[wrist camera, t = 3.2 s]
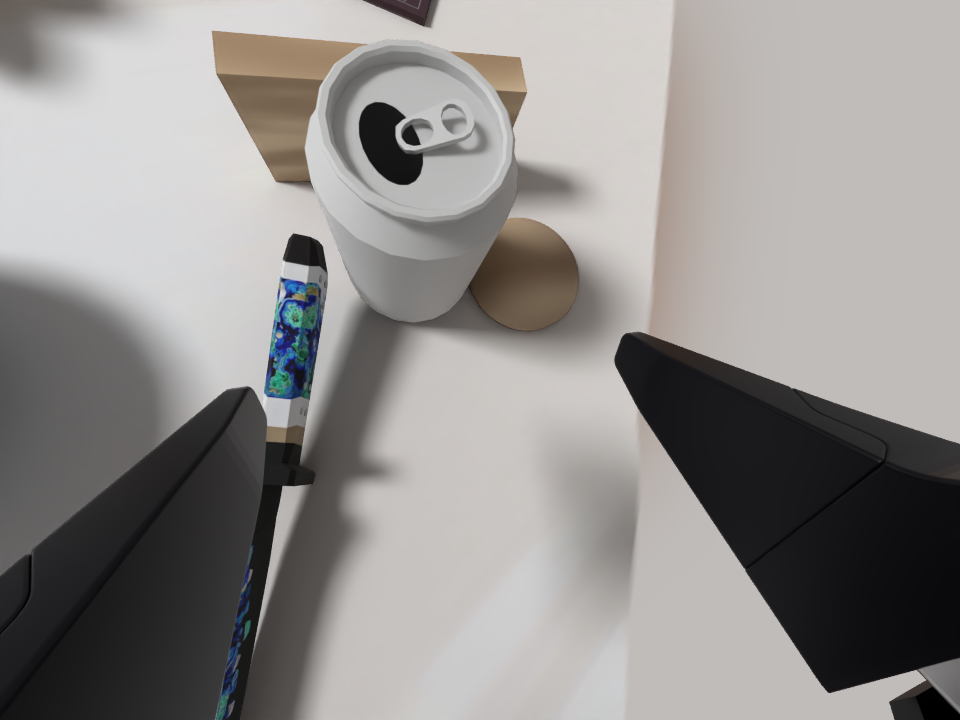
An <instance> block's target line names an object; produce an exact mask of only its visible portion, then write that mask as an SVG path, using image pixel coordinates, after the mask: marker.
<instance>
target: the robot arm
mask: <svg viewBox="0 0 960 720" xmlns="http://www.w3.org/2000/svg"><path fill="white" fill-rule="evenodd" d="M614 361H615V366H616V368H617V370H618V372H619V374H620V376H621V377H622V379H623V381H624V383H625V385H626V387H627V389H628V391H629V393H630V394H631V396H632V398H633V400H634V402H635V404H636V406H637V407H638V409H639V411H640V413H641V414H642V416H643V417H644V419H645V420H646V422H647V423H648V425H649V426H650V428H651V429H652V431H653V432H654V434H655V435H656V437H657V438H658V440H659V441H660V443H661V444H662V446H663V447H664V449H665V450H666V452H667V453H668V455H669V456H670V458H671V459H672V461H673V462H674V464H675V465H676V467H677V468H678V470H679V471H680V473H681V474H682V476H683V477H684V479H685V480H686V482H687V483H688V485H689V486H690V488H691V489H692V491H693V492H694V494H695V495H696V497H697V498H698V500H699V501H700V503H701V504H702V506H703V507H704V509H705V510H706V512H707V513H708V515H709V516H710V518H711V520H712V521H713V523H714V524H715V525H716V527H717V528H718V530H719V532H720V533H721V535H722V536H723V538H724V539H725V541H726V542H727V544H728V545H729V546H730V548H731V550H732V551H733V553H734V554H735V556H736V557H737V559H738V560H739V561H740V563H741V564H742V566H743V567H744V568H745V571H746V573H747V574H748V576H749V577H750V579H751V580H752V582H753V583H754V585H755V586H756V588H757V589H758V591H759V592H760V594H761V595H762V597H763V598H764V600H765V601H766V602H767V604H768V606H769V607H770V609H771V610H772V612H773V613H774V615H775V616H776V618H777V619H778V621H779V622H780V624H781V625H782V627H783V628H784V630H785V631H786V633H787V634H788V636H789V637H790V639H791V640H792V642H793V643H794V645H795V646H796V648H797V649H798V651H799V652H800V654H801V655H802V657H803V658H804V660H805V661H806V663H807V664H808V666H809V667H810V669H811V670H812V672H813V673H814V675H815V676H816V678H817V679H818V681H819V682H820V683H821V685H822V686H823V687H824V688H825V690H826V691H827V692H828V693H832V692H836V691H840V690H843V689H847V688H851V687H854V686H858V685H861V684H866V683H869V682H873V681H876V680H880V679H884V678H888V677H891V676H895V675H899V674H903V673H906V672H910V671H914V670H917V671H918V672H919V673H920V674H921V675H922V676H923V677H924V678H925V679H926V681H924V682H923V683H921V684H919V685H917V686H916V687H914V688H912V689H910V690H909V691H907V692H905V693H904V694H902V695H900V696H899V697H897V698H895V699H893V700H892V701H890V702H889V703H890V706H891V709H892V713H893V716H894V719H895V720H960V444H959V443H955V442H952V441H948V440H945V439H942V438H939V437H936V436H933V435H930V434H927V433H924V432H921V431H918V430H914V429H911V428H908V427H905V426H902V425H899V424H896V423H893V422H890V421H887V420H884V419H881V418H878V417H875V416H872V415H869V414H866V413H863V412H859V411H856V410H854V409H851V408H848V407H845V406H842V405H839V404H836V403H833V402H831V401H828V400H825V399H822V398H819V397H816V396H813V395H810V394H808V393H805V392H803V391H800V390H797V389H791V388H790V387H789V386H786V385H783V384H781V383H778V382H775V381H773V380H770V379H767V378H764V377H762V376H759V375H756V374H754V373H751V372H748V371H745V370H743V369H740V368H737V367H734V366H732V365H729V364H726V363H724V362H721V361H718V360H715V359H713V358H710V357H707V356H704V355H702V354H699V353H696V352H694V351H691V350H688V349H685V348H683V347H680V346H677V345H675V344H672V343H669V342H666V341H663V340H661V339H658V338H655V337H653V336H650V335H647V334H645V333H642V332H632V333H626V334H624V335H623V337H622V338H621V341H620V344H619V347H618V349H617V352H616V355H615V359H614ZM266 435H267V417H266V413H265V411H264V409H263V407H262V405H261V403H260V401H259V399H258V397H257V395H256V393H255V392H254V390H253V389H252V388H251V387H248V386H246V387H239V388H232V389H228V390H226V391H224V392H223V393H222V394H221V395H219V396H218V397H217V398H216V399H214V400H213V401H212V402H211V403H210V404H208V405H207V406H206V407H205V408H204V409H202V410H201V411H200V412H199V413H197V414H196V415H195V416H194V417H193V418H191V419H190V420H189V421H188V422H187V423H185V424H184V425H183V426H182V427H180V428H179V429H178V430H177V431H176V432H174V433H173V434H172V435H171V436H170V437H168V438H167V439H166V440H165V441H163V442H162V443H161V444H160V445H159V446H157V447H156V448H155V449H154V450H153V451H151V452H150V453H149V454H148V455H146V456H145V457H144V458H143V459H142V460H140V461H139V462H138V463H137V464H136V465H134V466H133V467H132V468H131V469H129V470H128V471H127V472H126V473H125V474H123V475H122V476H121V477H120V478H119V479H117V480H116V481H115V482H114V483H113V484H111V485H110V486H109V487H108V488H106V489H105V490H104V491H103V492H102V493H100V494H99V495H98V496H97V497H95V498H94V499H93V500H92V501H91V502H89V503H88V504H87V505H86V506H85V507H83V508H82V509H81V510H80V511H78V512H77V513H76V514H75V515H74V516H72V517H71V518H70V519H69V520H68V521H66V522H65V523H64V524H63V525H61V526H60V527H59V528H58V529H57V530H55V531H54V532H53V533H52V534H50V535H49V536H48V537H47V538H46V539H44V540H43V541H42V542H41V543H40V544H38V545H37V546H36V547H35V548H34V549H33V550H32V552H31V554H28V555H25V556H24V557H22V558H21V559H20V560H19V561H18V562H16V563H15V564H14V565H13V566H11V567H10V568H9V569H8V570H7V571H5V572H4V573H3V574H2V575H1V576H0V720H215V719H216V714H217V709H218V704H219V699H220V694H221V690H222V685H223V680H224V675H225V670H226V665H227V660H228V655H229V651H230V646H231V641H232V636H233V631H234V626H235V621H236V616H237V612H238V607H239V602H240V597H241V592H242V587H243V582H244V577H245V573H246V568H247V563H248V558H249V553H250V548H251V543H252V538H253V534H254V529H255V524H256V519H257V514H258V509H259V504H260V499H261V494H262V487H263V477H264V463H265V449H266Z"/></svg>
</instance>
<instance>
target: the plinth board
mask: <svg viewBox="0 0 960 720" xmlns="http://www.w3.org/2000/svg"><path fill="white" fill-rule="evenodd" d="M212 37H213V47H214V57H215V67H216V74H217V76H218V78H219V79H220V81H221V83H222V85H223V87H224V88H225V90H226V92H227V94H228V96H229V98H230V99H231V101H232V103H233V105H234V107H235V108H236V110H237V112H238V114H239V116H240V117H241V119H242V121H243V123H244V125H245V126H246V128H247V130H248V132H249V134H250V136H251V137H252V139H253V141H254V143H255V145H256V146H257V148H258V150H259V152H260V154H261V155H262V157H263V159H264V161H265V163H266V165H267V166H268V168H269V170H270V172H271V174H272V175H273V177H274V179H275V181H311V179H310V174H309V169H308V164H307V159H306V153H305V144H306V138H307V133H308V127H309V121H310V117H311V116H312V114H313V112H314V111H315V109H316V105H317V99H318V93H319V87H320V86H321V84H322V83H323V81H324V80H325V78H326V76H327V75H328V73H329V72H330V70H331V69H332V67H333V66H334V64H335V63H336V62H338V61H339V60H341V59H342V58H343V57H345V56H346V55H348V54H349V53H351V52H352V51H353V50H355V49H356V48H358V47H361V46H365V45H368V44H358V43H346V42H335V41H323V40H312V39H300V38H289V37H277V36H266V35H254V34H243V33H231V32H220V31H212ZM449 52H450V51H449ZM451 53H452V54H454V55H456V56H457V57H459V58H461V59H462V60H464V61H465V62H467V63H469V64H470V65H472V66H473V67H474V68H475V69H476V70H477V71H478V72H479V73H480V74H481V75H482V76H483V77H484V78H485V79H486V80H487V81H488V82H489V83H490V84H491V85H492V86H493V87H494V88H495V90H496V92H497V94H498V95H499V97H500V99H501V101H502V102H503V104H504V106H505V108H506V109H507V111H508V113H509V117H510V121H511V125H512V129H513V126H514V124H515V121H516V119H517V116H518V114H519V111H520V109H521V106H522V104H523V101H524V99H525V96H526V94H527V89H526V84H525V79H524V74H523V69H522V64H521V59H520V58H519V57H507V56H496V55H484V54H473V53H461V52H451Z"/></svg>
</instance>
